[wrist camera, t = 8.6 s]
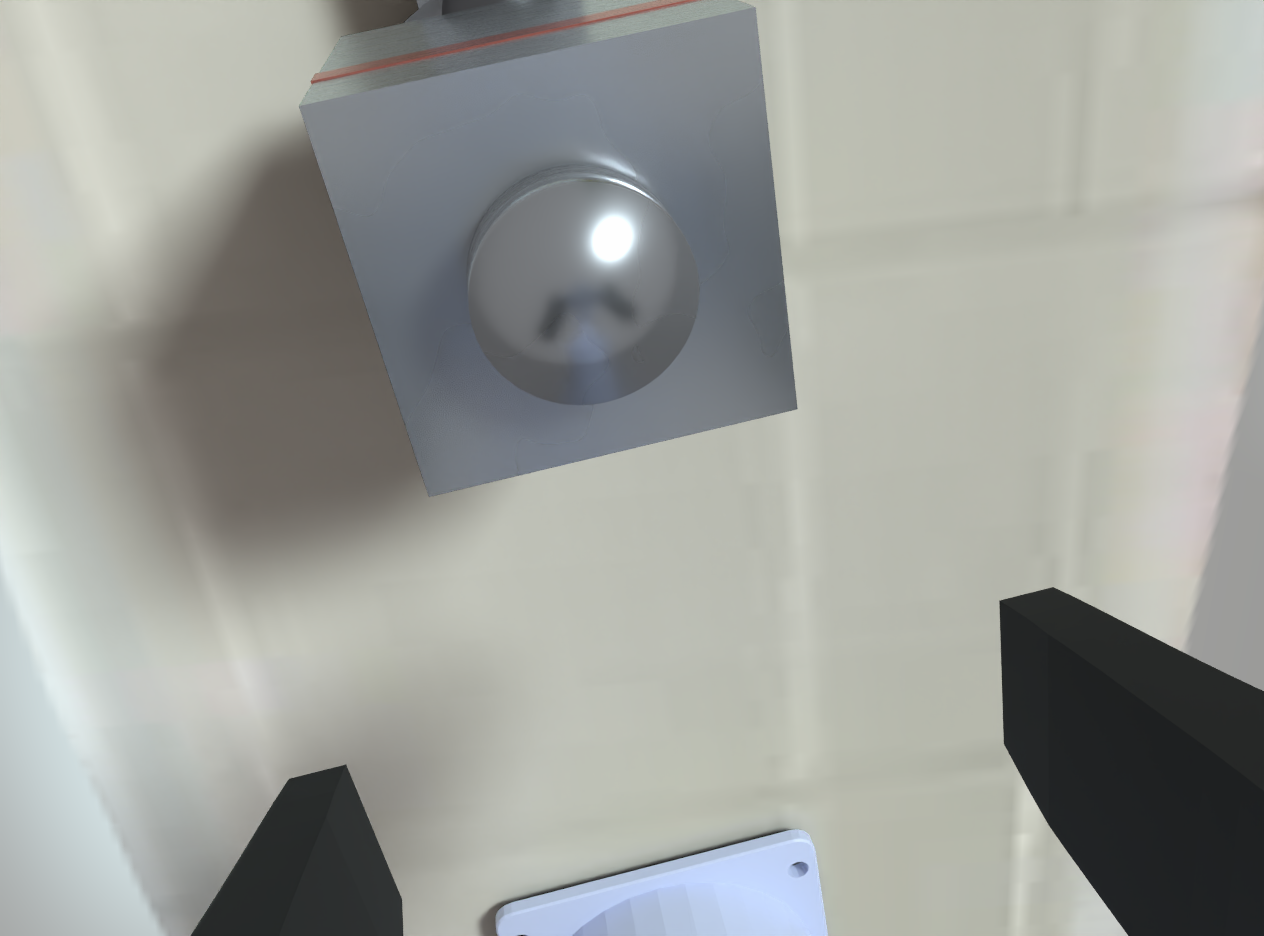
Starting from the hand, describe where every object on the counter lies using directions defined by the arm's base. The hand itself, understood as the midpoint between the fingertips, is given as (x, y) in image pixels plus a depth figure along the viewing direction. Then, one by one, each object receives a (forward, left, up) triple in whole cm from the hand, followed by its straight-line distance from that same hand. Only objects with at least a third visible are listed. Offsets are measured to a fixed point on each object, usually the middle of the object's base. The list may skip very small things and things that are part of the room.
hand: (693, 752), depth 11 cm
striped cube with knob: (+5, 0, -8) cm, 9 cm away
